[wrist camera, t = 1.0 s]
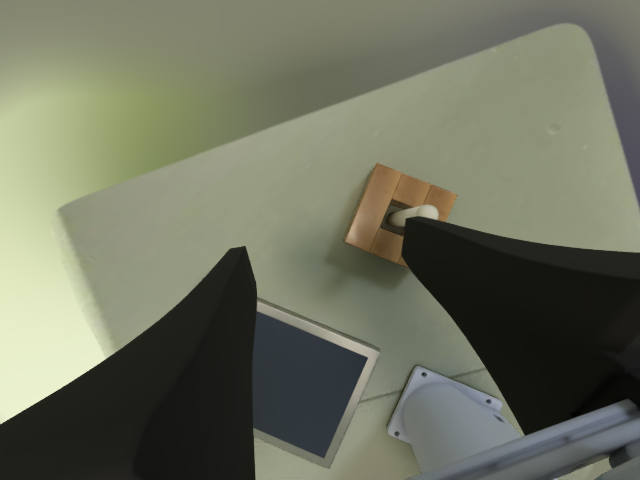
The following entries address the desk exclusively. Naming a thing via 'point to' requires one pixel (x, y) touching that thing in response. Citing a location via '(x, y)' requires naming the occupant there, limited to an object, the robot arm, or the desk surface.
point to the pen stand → (374, 204)
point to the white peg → (412, 214)
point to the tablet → (305, 382)
